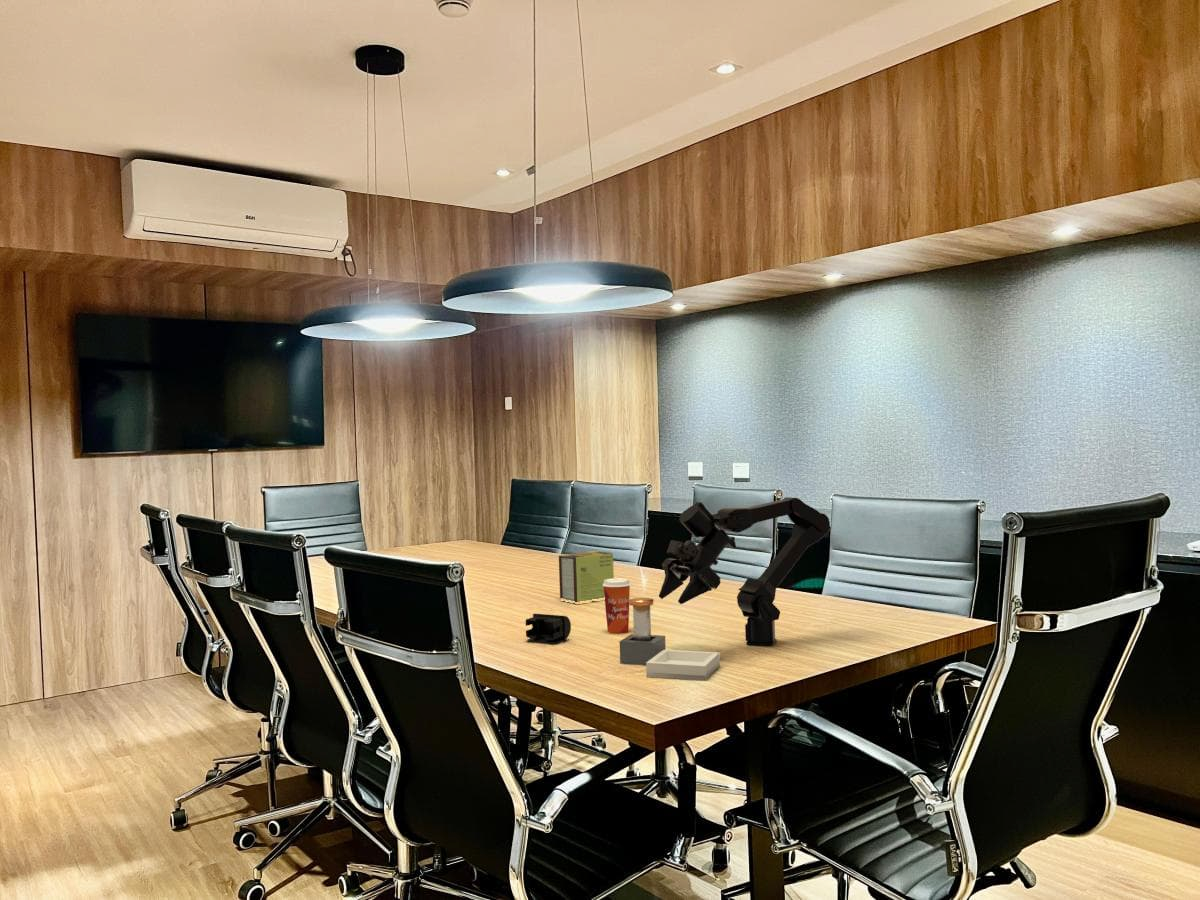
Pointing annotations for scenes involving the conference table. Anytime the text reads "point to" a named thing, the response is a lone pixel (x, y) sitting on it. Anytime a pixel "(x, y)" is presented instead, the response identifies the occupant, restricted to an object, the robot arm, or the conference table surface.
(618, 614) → the paper cup
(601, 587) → the protein box
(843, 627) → the conference table surface
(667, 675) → the tray
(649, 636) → the hitch pin
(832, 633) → the conference table surface
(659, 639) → the block
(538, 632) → the end cap
